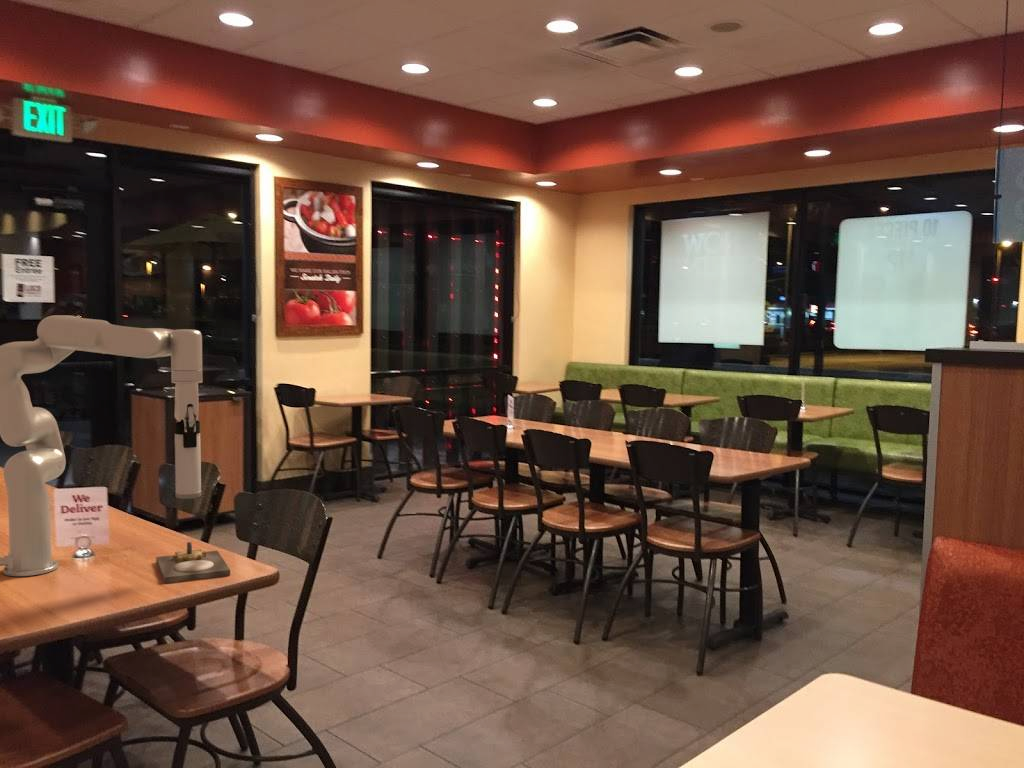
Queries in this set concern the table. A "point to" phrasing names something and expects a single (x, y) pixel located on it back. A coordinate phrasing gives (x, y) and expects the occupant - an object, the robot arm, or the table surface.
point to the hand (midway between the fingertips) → (188, 445)
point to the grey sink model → (191, 565)
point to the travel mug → (187, 465)
